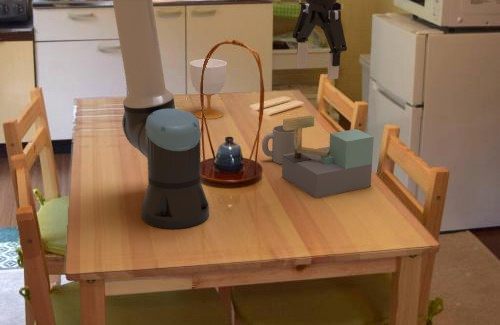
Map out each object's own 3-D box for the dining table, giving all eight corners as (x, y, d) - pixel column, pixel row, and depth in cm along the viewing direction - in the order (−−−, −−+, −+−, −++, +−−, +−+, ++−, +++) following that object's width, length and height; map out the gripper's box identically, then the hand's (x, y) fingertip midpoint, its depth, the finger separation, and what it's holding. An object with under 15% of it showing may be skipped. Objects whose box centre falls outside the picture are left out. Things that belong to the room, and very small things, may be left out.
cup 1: (231, 111, 263) (231, 59, 257) (221, 121, 252) (221, 68, 246) (196, 109, 265) (195, 57, 260) (185, 119, 255) (184, 65, 249)
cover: (336, 170, 194) (337, 142, 191) (320, 162, 199) (321, 135, 197) (372, 163, 198) (373, 136, 196) (355, 155, 204) (356, 129, 202)
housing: (314, 198, 193) (315, 174, 191) (280, 177, 206) (280, 154, 204) (370, 186, 201) (372, 163, 198) (334, 167, 214) (335, 144, 212)
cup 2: (300, 164, 215) (301, 132, 212) (263, 165, 214) (263, 133, 211) (296, 155, 222) (297, 124, 219) (260, 156, 221) (260, 125, 218)
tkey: (298, 167, 195) (299, 127, 191) (282, 158, 201) (282, 119, 197) (331, 161, 199) (333, 122, 196) (314, 152, 205) (316, 114, 202)
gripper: (365, -8, 188) (359, 82, 195) (306, -20, 208) (302, 62, 215) (339, -6, 184) (333, 85, 191) (281, -19, 204) (278, 64, 211)
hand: (317, 73), depth 203 cm, fingers open, 13 cm apart
